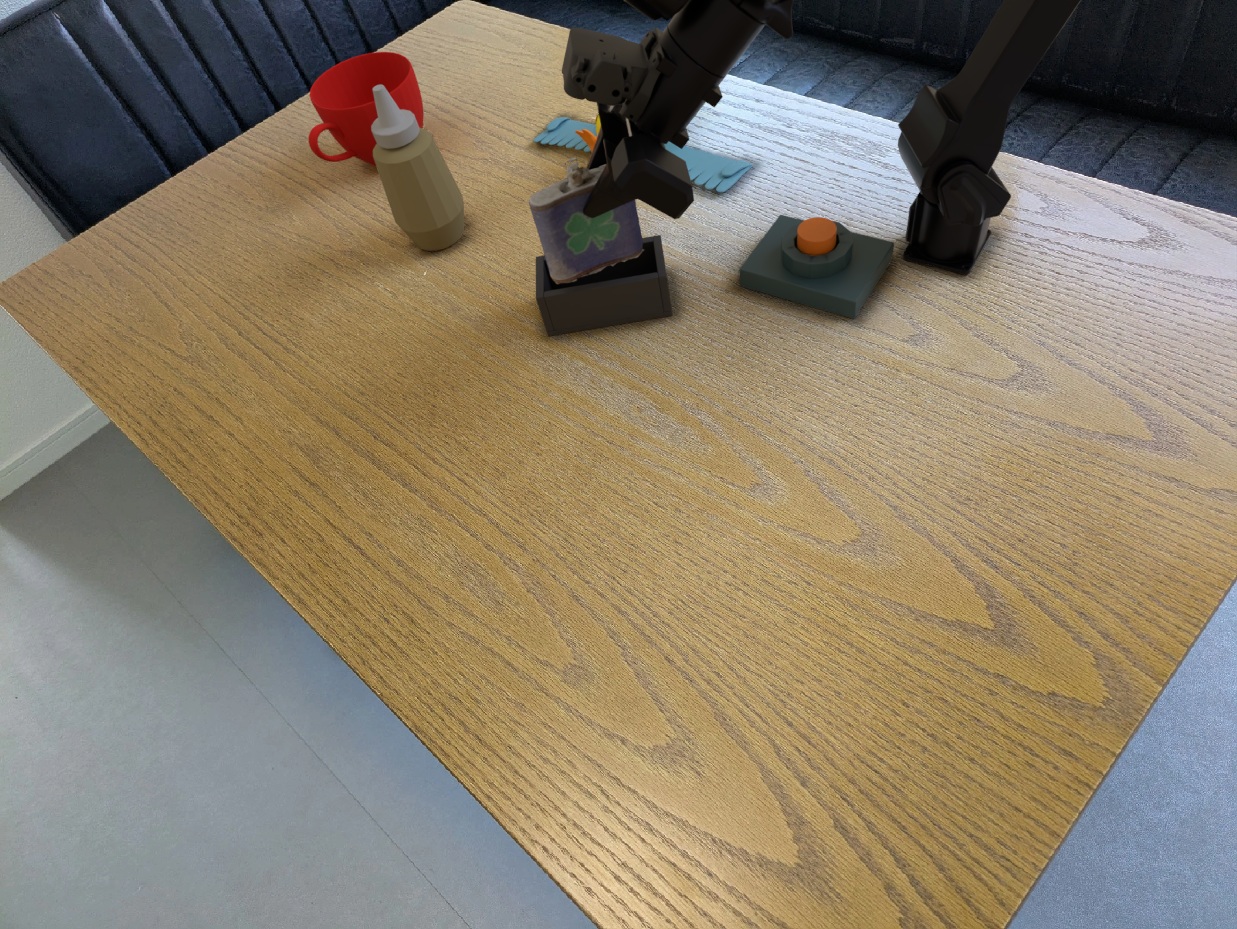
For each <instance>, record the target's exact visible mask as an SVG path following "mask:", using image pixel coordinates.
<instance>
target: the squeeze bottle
mask: <svg viewBox="0 0 1237 929" xmlns="http://www.w3.org/2000/svg"><path fill="white" fill-rule="evenodd" d="M373 94H374V99H375V104H376V109H377V114H378V118H377V119H376V120H375V121H374V122H373V124H372V126H371V131H372V133H373V136H374V138H375V140H376V142H377V144H376V146H375V147H374V149H373V158H374V161H375V163H376V166H377V167H376V169H377V172H378V176H379V178H380V181H381V184H382V188H383V191H384V193H385V196H386V199H387V202H388V205H389V208H390V211H391V214H392V217H393V220H394V222H395V224H396V225H397V226H398V228H400V230H401V231H402V232H404V234H405V235H406V236H408V237H409V239H410V240H411V241H412V242H413V243H414V244H415V245H416V246H417V247H418V248H419V249H421V250H424V251H428V252H429V251H432V252H433V251H440V250H443V249H447V248H448V247H450V246H452V245H454V244H455V243H457V242H458V241H459V240H460V239H461V238H462V236H463V233H464V231H465V204H464V203H465V202H464V196H463V194H462V192H461V190H460V188H459V186H458V184H457V182H456V180H455V178H454V176H453V174H452V172H451V170H450V168H449V166H448V164H447V162H446V160H445V159H444V156H443V154H442V153H441V150H440V148H439V146H438V144H437V143H436V141H435V139H434V136H433V134H432V133H431V132H430V131H429V130H427V129H426V128H420V127H419V126H418V123H417V120H416V118H415V115H414V114H413V113H412V112H411V111H408V110H404V109H403V110H400V109H399V107H398V106H397V104H396V103H395V102H394V100H393V99H392V97H391V96H390V94H389V93H388V91H387V90H386V88H385V87H384V85H377V86H375V87H373Z"/></svg>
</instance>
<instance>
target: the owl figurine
mask: <svg viewBox="0 0 1237 929" xmlns="http://www.w3.org/2000/svg"><path fill="white" fill-rule="evenodd" d="M600 127H601V123H600V118H599V113H598V112H597V113H596V117H595V119H594V124H593V123H589V122H584V121H579V120H573V119H572V118H571V117H567V116H560V117H556V118H553V119H552V120H551V121H549V123H548V124H547V125H546V129H544V130H543V131H542V132H541V133H539V134H538V135H537V136H535V137H534V138H533V139H532V141H533V142H534V143H540V144H541V145H547V144H548V145H550V146H553V145H556V146H558V147H564V146H565V148H566V149H572V148H574V150H576V151H581V150H583V152H584V153H592V151H593V148H594V146H595V143H596V140H597V137H598V134H599V130H600ZM664 145H665V149H666V150H668V151H670V152H671V153H673V154H675V155H676V156H678V157H680V158H681V159H683V160H684V161H686V165H687V168H688V172H689V176H690V179H691V181H693V180H694V181H693V182H694V184H695V185H697V186H703V185H704V188H705V189H706V190H713V189H715V190H716V192H717V193H724V192H727V191H728V190H729V189H730V188H732V187H733V186H734V185H735V184H736V183H737V182H738V181H739V180H740V179H741V178H742V176H744V174H746V173H747V172H749V170H750V169H751V168H753V167H754V164H752V163H750V162H748V161H745V160H741V159H740V160H735V159H732V158H729V157H725V156H722V155H718V154H715V153H712V152H708V151H704V150H702V149H701V150H700V149H697V148H694V147H690V146H688V145H685V146H684V147H683V148H682V149H681V148H679V147H677V146H676V145H674V144H672V143H671V142H668V143H667V144H664Z"/></svg>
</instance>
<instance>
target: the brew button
mask: <svg viewBox="0 0 1237 929" xmlns="http://www.w3.org/2000/svg"><path fill="white" fill-rule="evenodd" d="M833 221H834V220H831V219H829V218H827V217H821V216H815V217H810V218H807V219H805V221H803V222H802V223H801V224H800V225H799V226H798V229H797V247H798V249H799V250H800V252H802V253H804V254H807V255H811V256H815V255H825V254H827V253H829V252H831V251H832V250H833V249H834V248H835V246H836V235H837V227H836V225H835V223H834V222H833Z"/></svg>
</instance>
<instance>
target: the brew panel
mask: <svg viewBox="0 0 1237 929" xmlns="http://www.w3.org/2000/svg"><path fill="white" fill-rule="evenodd" d="M805 220H806V219H805ZM805 220H804V219H801V218H796V217H792V216H788V215H784V214H779V216H778V217H777V218H776V220H775V221H774V222H773V224H772V225H771V226H770V228H769V229H768V231H767V232H766V233H765V234H764V236H763V237H762V238H761V240H760V241H759V242H758V244H757V245H756V246H755V248H754V249H753V250H752V251H751V252H750V254H749V256H748V257H747V258H746V260H745V261H744V262H743V263H742V264H741V266H740V267H739V268H738V274H739V276H738V277H739V286H740V287H741V288H744V289H745V288H746V289H749V290H751V291H752V290H753V291H756V292H758V293H759V292H760V293H763V294H766V295H769V296H774V297H776V298H780V299H783V300H785V301H791V302H794V303H798V304H801V305H803V306H807V307H811V308H814V309H817V310H821V311H823V312H824V311H825V312H827V313H831V314H835V315H838V316H842V317H845V318H849V319H852V320H856V318H857V316H858V314H859V313H860V311H861V310H862V308H863V306H864V305H865V304H866V302H867V300H868V299H869V297H870V295H871V294H872V292H873V291H874V289H875V287H876V286H877V284H878V283H879V281H880V280H881V278H882V277H883V275H884V273H885V272H886V271H887V269H888V267H889V266H890V263H891V262H892V261H893V256H894V248H895V242H894V241H891V240H887V239H882V238H880V237H874V236H870V235H866V234H862V233H858V232H854V231H850V230H849V228H847V227H845V226H844V225H843V224H842V223H841V222H839V221H835V220H832V221H833V222H834V223H835V225H836V227H837V235H836V246H835V248H834V249H833V250H832V251H831V252H829V253H827V254H825V255H815V256H811V255H807V254H804V253H802V252H800V250H799V249H798V247H797V229H798V226H799V225H800V224H801V223H802V222H803V221H805Z"/></svg>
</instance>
